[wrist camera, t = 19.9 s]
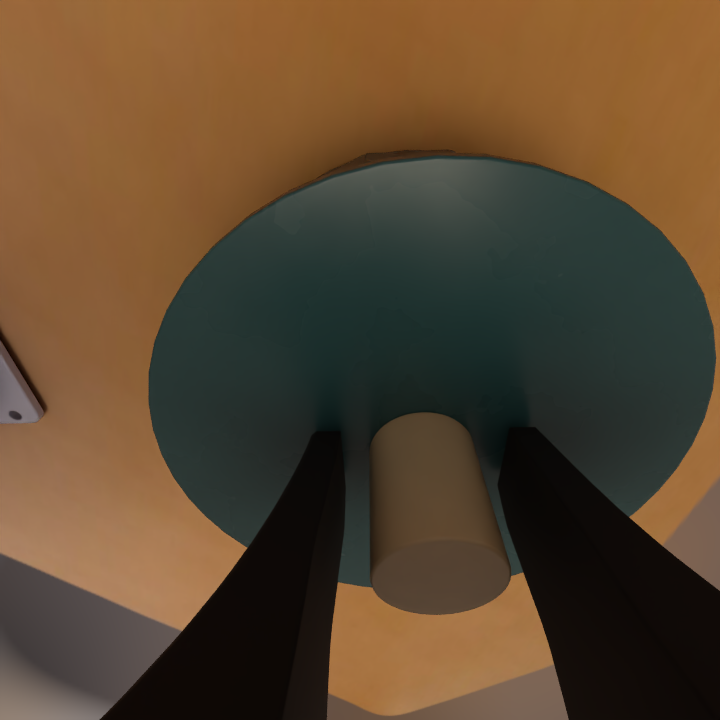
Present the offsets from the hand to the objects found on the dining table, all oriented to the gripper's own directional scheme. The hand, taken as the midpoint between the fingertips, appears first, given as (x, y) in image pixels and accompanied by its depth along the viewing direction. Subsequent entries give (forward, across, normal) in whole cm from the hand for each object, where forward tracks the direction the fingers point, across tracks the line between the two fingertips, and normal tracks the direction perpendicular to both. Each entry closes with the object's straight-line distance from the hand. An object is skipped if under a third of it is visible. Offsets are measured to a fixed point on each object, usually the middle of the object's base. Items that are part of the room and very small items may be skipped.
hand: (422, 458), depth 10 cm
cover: (+1, 0, 0) cm, 1 cm away
